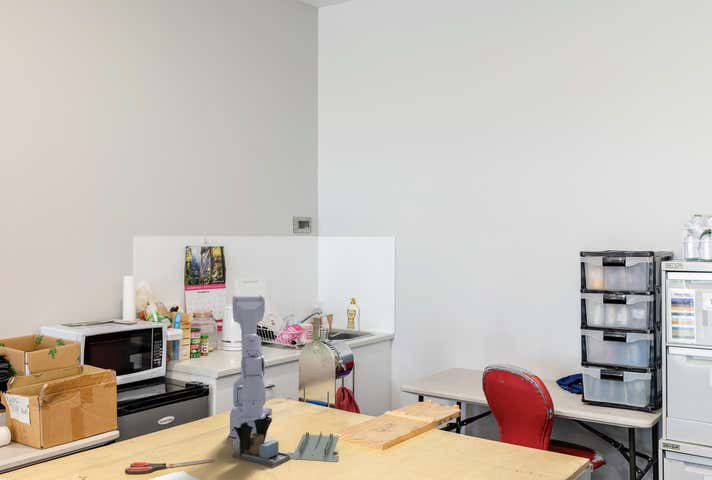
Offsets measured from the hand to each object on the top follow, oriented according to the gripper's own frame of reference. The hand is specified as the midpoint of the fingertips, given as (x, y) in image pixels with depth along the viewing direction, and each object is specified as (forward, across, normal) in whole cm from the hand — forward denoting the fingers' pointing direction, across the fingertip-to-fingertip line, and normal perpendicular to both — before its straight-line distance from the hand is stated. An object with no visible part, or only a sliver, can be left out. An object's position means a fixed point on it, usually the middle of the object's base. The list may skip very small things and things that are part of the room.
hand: (253, 446), depth 192 cm
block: (+2, 0, 0) cm, 2 cm away
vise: (+3, 0, -3) cm, 4 cm away
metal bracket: (+4, +12, -14) cm, 18 cm away
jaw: (+2, 0, -6) cm, 6 cm away
